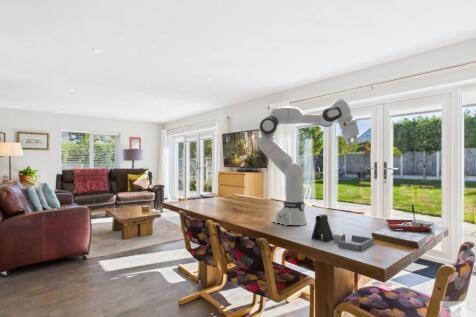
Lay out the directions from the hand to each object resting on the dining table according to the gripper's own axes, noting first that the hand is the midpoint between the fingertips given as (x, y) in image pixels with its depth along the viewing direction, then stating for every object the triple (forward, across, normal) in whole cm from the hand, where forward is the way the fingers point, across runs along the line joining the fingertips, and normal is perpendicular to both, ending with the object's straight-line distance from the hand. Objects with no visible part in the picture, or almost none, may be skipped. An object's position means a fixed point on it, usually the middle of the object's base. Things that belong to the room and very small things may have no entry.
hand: (353, 145), depth 170 cm
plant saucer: (+54, +9, +10) cm, 56 cm away
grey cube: (+45, +37, -33) cm, 67 cm away
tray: (+47, +42, -27) cm, 68 cm away
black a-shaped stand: (+43, +31, -39) cm, 66 cm away
